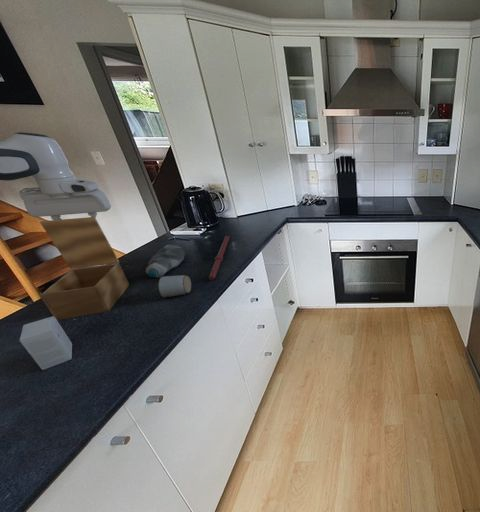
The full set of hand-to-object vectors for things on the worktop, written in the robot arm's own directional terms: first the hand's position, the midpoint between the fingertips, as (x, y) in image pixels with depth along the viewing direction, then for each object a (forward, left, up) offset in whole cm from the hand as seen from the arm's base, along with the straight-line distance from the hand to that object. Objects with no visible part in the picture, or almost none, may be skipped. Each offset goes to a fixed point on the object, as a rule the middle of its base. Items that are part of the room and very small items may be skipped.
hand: (80, 225), depth 96 cm
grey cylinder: (+26, -15, -25) cm, 39 cm away
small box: (+3, -40, -25) cm, 47 cm away
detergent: (+16, +9, -25) cm, 31 cm away
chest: (0, -11, -25) cm, 27 cm away
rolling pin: (+37, +12, -25) cm, 47 cm away
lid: (0, -4, -6) cm, 7 cm away
